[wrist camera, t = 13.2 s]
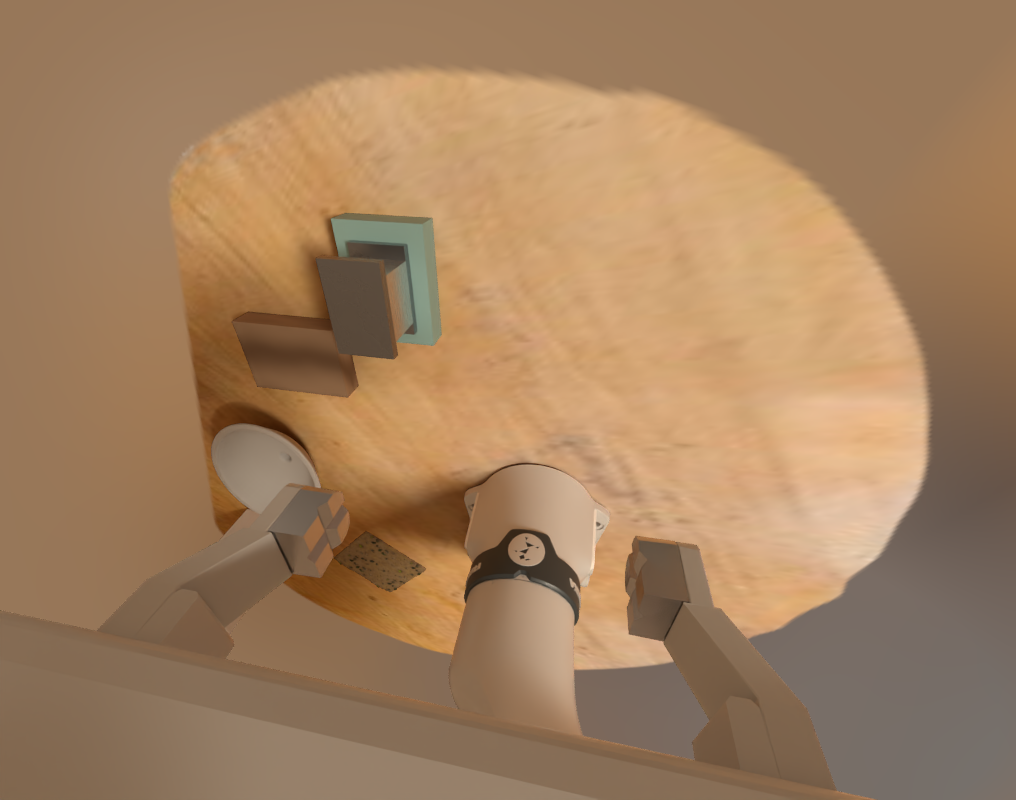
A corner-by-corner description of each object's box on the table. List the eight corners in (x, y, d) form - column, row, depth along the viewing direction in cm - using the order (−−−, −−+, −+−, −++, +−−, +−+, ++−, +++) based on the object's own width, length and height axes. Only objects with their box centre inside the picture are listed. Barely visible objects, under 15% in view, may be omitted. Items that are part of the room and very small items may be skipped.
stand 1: (358, 385, 47) (347, 397, 45) (271, 375, 48) (257, 386, 46) (343, 320, 43) (331, 331, 40) (248, 311, 44) (231, 321, 42)
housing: (407, 243, 34) (378, 262, 30) (417, 331, 39) (394, 359, 34) (351, 240, 35) (315, 258, 30) (368, 326, 39) (338, 353, 35)
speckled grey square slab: (366, 527, 63) (363, 532, 63) (428, 566, 67) (426, 572, 66) (333, 555, 70) (330, 560, 69) (392, 590, 73) (389, 595, 72)
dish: (231, 385, 51) (199, 408, 47) (342, 421, 51) (320, 447, 47) (246, 478, 61) (222, 503, 57) (339, 508, 61) (320, 535, 57)
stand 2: (441, 334, 41) (433, 345, 39) (367, 327, 42) (356, 338, 40) (432, 218, 35) (422, 224, 33) (345, 212, 36) (330, 218, 34)
